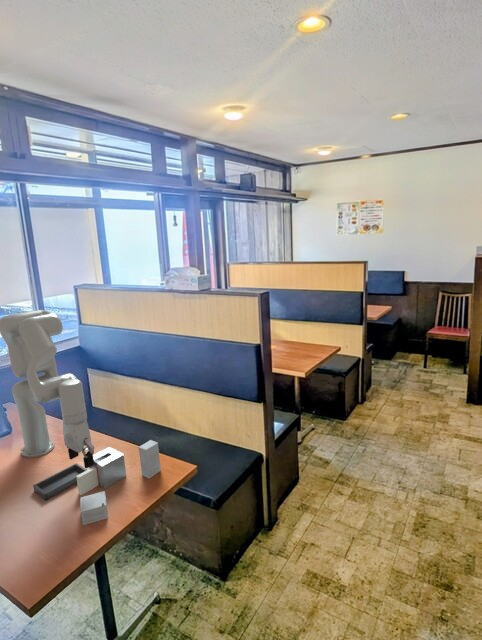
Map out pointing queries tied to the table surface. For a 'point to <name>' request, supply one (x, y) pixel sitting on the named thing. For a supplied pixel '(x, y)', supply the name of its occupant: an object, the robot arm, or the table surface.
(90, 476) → the ticket
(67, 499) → the table surface
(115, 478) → the ticket dispenser
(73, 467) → the stub tray
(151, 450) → the skincare box
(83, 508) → the small box
